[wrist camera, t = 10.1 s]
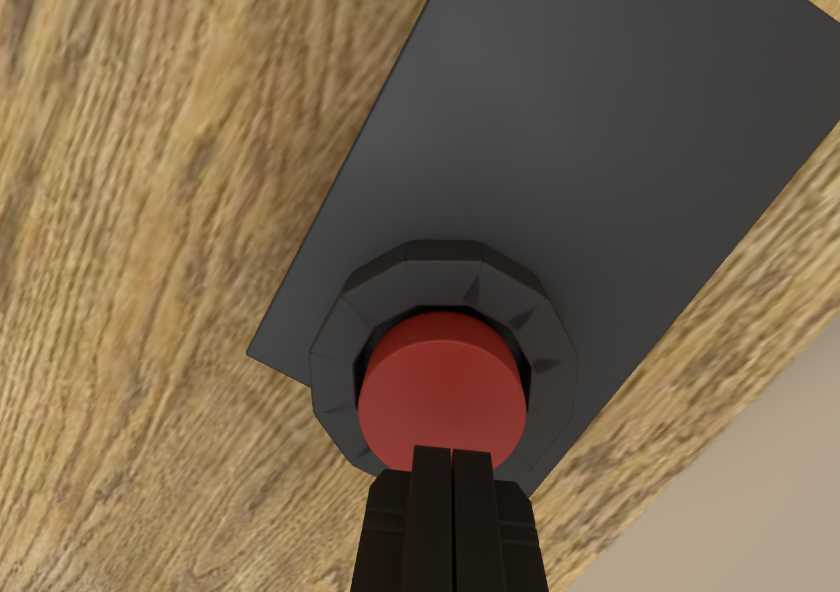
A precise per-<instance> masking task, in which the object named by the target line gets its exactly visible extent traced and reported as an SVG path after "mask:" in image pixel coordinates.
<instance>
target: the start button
mask: <svg viewBox="0 0 840 592" xmlns="http://www.w3.org/2000/svg"><path fill="white" fill-rule="evenodd" d="M358 417H359V424H360V427H361V431H362V433H363V436H364V438H365V440H366V442H367V443H368V445H369V447H370V448H371V450H372V451H373V452H374V453H375V455H376V456H377V457H378V458H379V459H380V460H381V461H382V462H383V463H384V464H386V465H387V466H389V467H390V468H391V469H393V470H403V471H411V470H412V460H413V450H414V445H423V446H433V447H443V448H450V449H451V457H452V451H453V448H454V449H464V450H474V451H484V452H490V453H491V457H492V466H493V469H495V468H496V467H498V466H499V465H500V464H501V463H502V462H503V461H505V460H506V459H507V458H508V456H509V455H510V454H511V453H512V452H513V450H514V449H515V447H516V446H517V444H518V442H519V440H520V438H521V436H522V433H523V430H524V427H525V421H526V402H525V396H524V393H523V389H522V385H521V381H520V377H519V373H518V369H517V365H516V361H515V358H514V356H513V353H512V351H511V349H510V348H509V346H508V345H507V343H506V342H505V340H504V339H503V338H502V337H501V336H500V335H499V334H498V333H497V332H496V331H495V330H494V329H493V328H491V327H490V326H489V325H487V324H485V323H484V322H482V321H480V320H478V319H476V318H474V317H471V316H468V315H465V314H461V313H456V312H448V311H435V312H427V313H422V314H419V315H415V316H412V317H410V318H408V319H405V320H403V321H402V322H400V323H398V324H397V325H395V326H394V327H392V328H391V329H390V330H389V331H387V333H386V334H385V335H384V336H383V337H382V338H381V339H380V340H379V342H378V343H377V345H376V346H375V348H374V350H373V352H372V354H371V357H370V360H369V363H368V366H367V370H366V374H365V377H364V381H363V385H362V388H361V392H360V397H359V402H358Z"/></svg>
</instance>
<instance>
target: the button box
mask: <svg viewBox="0 0 840 592" xmlns="http://www.w3.org/2000/svg"><path fill="white" fill-rule="evenodd" d="M839 120H840V23H839V22H838V21H836V20H835V19H834V18H832V17H831V16H829V15H828V14H827V13H825V12H824V11H823V10H821V9H820V8H818V7H817V6H816V5H814V4H813V3H811V2H810V1H809V0H427V1H426V3H425V5H424V7H423V9H422V11H421V13H420V15H419V17H418V19H417V21H416V23H415V25H414V27H413V28H412V30H411V32H410V34H409V36H408V38H407V40H406V42H405V44H404V46H403V48H402V50H401V52H400V54H399V56H398V58H397V59H396V61H395V63H394V65H393V67H392V69H391V71H390V73H389V75H388V77H387V79H386V81H385V83H384V85H383V87H382V89H381V90H380V92H379V94H378V96H377V98H376V100H375V102H374V104H373V106H372V108H371V110H370V112H369V114H368V116H367V118H366V120H365V121H364V123H363V125H362V127H361V129H360V131H359V133H358V135H357V137H356V139H355V141H354V143H353V145H352V147H351V149H350V151H349V152H348V154H347V156H346V158H345V160H344V162H343V164H342V166H341V168H340V170H339V172H338V174H337V176H336V178H335V180H334V182H333V183H332V185H331V187H330V189H329V191H328V193H327V195H326V197H325V199H324V201H323V203H322V205H321V207H320V209H319V211H318V213H317V214H316V216H315V218H314V220H313V222H312V224H311V226H310V228H309V230H308V232H307V234H306V236H305V238H304V240H303V242H302V244H301V245H300V247H299V249H298V251H297V253H296V255H295V257H294V259H293V261H292V263H291V265H290V267H289V269H288V271H287V273H286V275H285V276H284V278H283V280H282V282H281V284H280V286H279V288H278V290H277V292H276V294H275V296H274V298H273V300H272V302H271V304H270V306H269V307H268V309H267V311H266V313H265V315H264V317H263V319H262V321H261V323H260V325H259V327H258V329H257V331H256V333H255V335H254V337H253V338H252V340H251V342H250V344H249V346H248V348H247V350H246V355H248V356H249V357H251V358H253V359H255V360H257V361H259V362H261V363H263V364H265V365H267V366H269V367H271V368H273V369H275V370H277V371H279V372H281V373H283V374H285V375H287V376H289V377H291V378H293V379H295V380H296V381H298V382H300V383H302V384H304V385H306V386H308V387H310V388H311V394H312V406H313V412H314V413H315V417H316V418H317V419H318V421H319V422H320V423H321V425H322V426H323V428H324V429H325V430H326V432H327V433H328V434H329V436H330V437H331V438H332V440H333V441H334V443H335V444H336V445H337V447H338V448H339V449H340V451H341V452H342V453H343V455H344V456H345V458H346V459H347V460H348V462H350V463H351V465H353V466H355V467H357V468H359V469H361V470H363V471H365V472H367V473H369V474H371V475H373V476H375V477H378V476H379V475H380V473H381V472H382V471H383V470H384V469H391V468H390V467H389V466H387V465H386V464H384V463H383V462H382V461H381V460H380V459H379V458H378V457H377V456H376V455H375V453H374V452H373V451H372V450H371V448H370V447H369V445H368V443H367V442H366V440H365V438H364V436H363V433H362V431H361V427H360V424H359V417H358V402H359V397H360V392H361V388H362V385H363V381H364V377H365V374H366V370H367V366H368V363H369V360H370V357H371V354H372V352H373V350H374V348H375V346H376V345H377V343H378V342H379V340H380V339H381V338H382V337H383V336H384V335H385V334H386V333H387V331H389V330H390V329H391V328H392V327H394V326H395V325H397V324H398V323H400V322H402V321H403V320H405V319H408V318H410V317H412V316H415V315H419V314H422V313H427V312H435V311H448V312H456V313H461V314H465V315H468V316H471V317H474V318H476V319H478V320H480V321H482V322H484V323H485V324H487V325H489V326H490V327H491V328H493V329H494V330H495V331H496V332H497V333H498V334H499V335H500V336H501V337H502V338H503V339H504V340H505V342H506V343H507V345H508V346H509V348H510V349H511V351H512V353H513V356H514V358H515V361H516V365H517V369H518V373H519V377H520V381H521V385H522V389H523V393H524V396H525V402H526V421H525V427H524V430H523V433H522V436H521V438H520V440H519V442H518V444H517V446H516V447H515V449H514V450H513V452H512V453H511V454H510V455H509V456H508V458H507V459H506V460H505V461H503V462H502V463H501V464H500V465H499V466H498V467H496V468H495V469H493V474H494V480H503V481H513V482H517V483H518V485H519V486H520V488H521V489H522V490H523V492H524V493H525V494H526V496H527V497H528V498H530V497H531V495H532V494H533V493H534V492H535V490H536V489H537V488H538V487H539V486H540V484H541V483H542V482H543V481H544V479H545V478H546V477H547V476H548V475H549V473H550V472H551V471H552V470H553V469H554V467H555V466H556V465H557V464H558V462H559V461H560V460H561V459H562V458H563V456H564V455H565V454H566V453H567V451H568V450H569V449H570V448H571V447H572V445H573V444H574V443H575V442H576V441H577V439H578V438H579V437H580V436H581V434H582V433H583V432H584V431H585V430H586V428H587V427H588V426H589V425H590V423H591V422H592V421H593V420H594V419H595V417H596V416H597V415H598V414H599V413H600V411H601V410H602V409H603V408H604V406H605V405H606V404H607V403H608V402H609V400H610V399H611V398H612V397H613V395H614V394H615V393H616V392H617V391H618V389H619V388H620V387H621V386H622V385H623V383H624V382H625V381H626V380H627V378H628V377H629V376H630V375H631V374H632V372H633V371H634V370H635V369H636V367H637V366H638V365H639V364H640V363H641V361H642V360H643V359H644V358H645V357H646V355H647V354H648V353H649V352H650V350H651V349H652V348H653V347H654V346H655V344H656V343H657V342H658V341H659V339H660V338H661V337H662V336H663V335H664V333H665V332H666V331H667V330H668V329H669V327H670V326H671V325H672V324H673V322H674V321H675V320H676V319H677V318H678V316H679V315H680V314H681V313H682V311H683V310H684V309H685V308H686V307H687V305H688V304H689V303H690V302H691V301H692V299H693V298H694V297H695V296H696V294H697V293H698V292H699V291H700V290H701V288H702V287H703V286H704V285H705V283H706V282H707V281H708V280H709V279H710V277H711V276H712V275H713V274H714V273H715V271H716V270H717V269H718V268H719V266H720V265H721V264H722V263H723V262H724V260H725V259H726V258H727V257H728V255H729V254H730V253H731V252H732V251H733V249H734V248H735V247H736V246H737V245H738V243H739V242H740V241H741V240H742V238H743V237H744V236H745V235H746V234H747V232H748V231H749V230H750V229H751V227H752V226H753V225H754V224H755V223H756V221H757V220H758V219H759V218H760V217H761V215H762V214H763V213H764V212H765V210H766V209H767V208H768V207H769V206H770V204H771V203H772V202H773V201H774V199H775V198H776V197H777V196H778V195H779V193H780V192H781V191H782V190H783V189H784V187H785V186H786V185H787V184H788V182H789V181H790V180H791V179H792V178H793V176H794V175H795V174H796V173H797V171H798V170H799V169H800V168H801V167H802V165H803V164H804V163H805V162H806V161H807V159H808V158H809V157H810V156H811V154H812V153H813V152H814V151H815V150H816V148H817V147H818V146H819V145H820V143H821V142H822V141H823V140H824V139H825V137H826V136H827V135H828V134H829V133H830V131H831V130H832V129H833V128H834V126H835V125H836V124H837V123H838V122H839Z"/></svg>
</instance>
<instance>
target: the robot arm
mask: <svg viewBox="0 0 840 592" xmlns="http://www.w3.org/2000/svg"><path fill="white" fill-rule="evenodd" d="M350 592H549V590H548V585H547V580H546V575H545V570H544V565H543V560H542V555H541V550H540V548H539V540H538V535H537V530H536V529H535V519H534V514H533V509H532V504H531V501H530V500H529V499H528V497H527V496H526V494H525V493H524V492H523V490H522V489H521V488H520V486H519V485H518V483H517V482H513V481H503V480H494V474H493V466H492V457H491V453H490V452H484V451H474V450H464V449H454V448H453V451H452V457H451V449H450V448H443V447H433V446H423V445H414V450H413V460H412V470H411V471H403V470H393V469H384V470H383V471H382V472H381V473H380V475H379V476H378V477H377V478H376V479H375V481H374V482H373V483H372V484H371V485H370V489H369V494H368V499H367V505H366V511H365V515H364V520H363V526H362V531H361V536H360V542H359V547H358V552H357V557H356V563H355V568H354V573H353V578H352V584H351V589H350Z"/></svg>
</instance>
